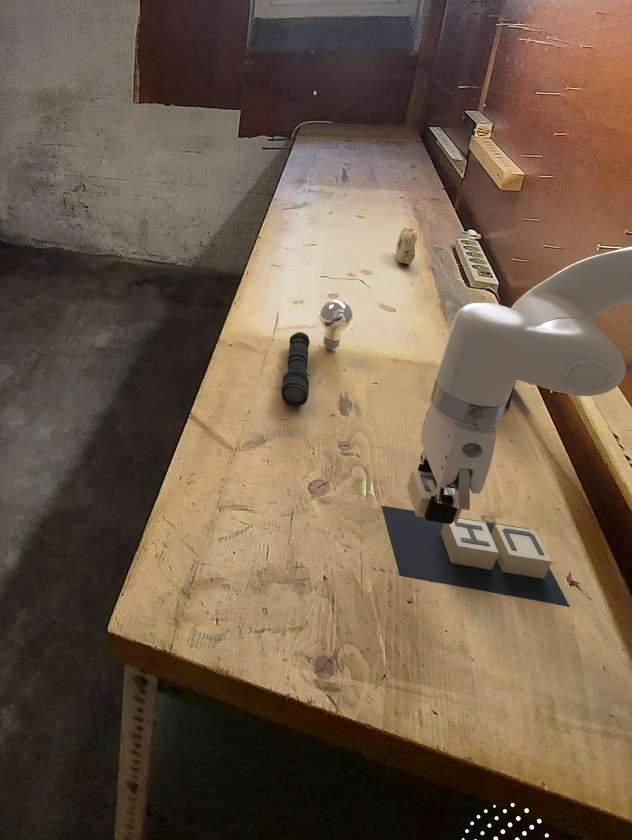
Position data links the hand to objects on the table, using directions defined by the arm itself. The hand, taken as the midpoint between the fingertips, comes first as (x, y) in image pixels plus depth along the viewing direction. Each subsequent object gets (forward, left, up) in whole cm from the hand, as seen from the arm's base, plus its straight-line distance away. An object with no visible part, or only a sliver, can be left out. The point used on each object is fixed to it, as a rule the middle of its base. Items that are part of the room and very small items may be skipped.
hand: (432, 502), depth 77 cm
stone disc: (-20, -101, -9) cm, 103 cm away
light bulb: (+6, -50, -9) cm, 51 cm away
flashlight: (+14, -38, -9) cm, 41 cm away
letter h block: (-6, 0, -8) cm, 10 cm away
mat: (-6, 0, -9) cm, 11 cm away
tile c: (-12, 0, -8) cm, 15 cm away
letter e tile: (0, 0, 0) cm, 0 cm away
